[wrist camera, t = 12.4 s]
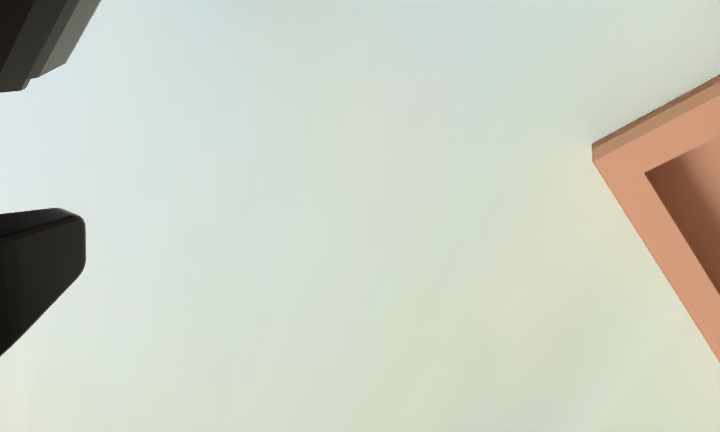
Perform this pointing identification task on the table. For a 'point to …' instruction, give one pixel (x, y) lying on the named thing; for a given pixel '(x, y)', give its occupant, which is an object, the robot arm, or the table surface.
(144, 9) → the table surface
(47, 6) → the robot arm
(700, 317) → the tray
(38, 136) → the table surface
